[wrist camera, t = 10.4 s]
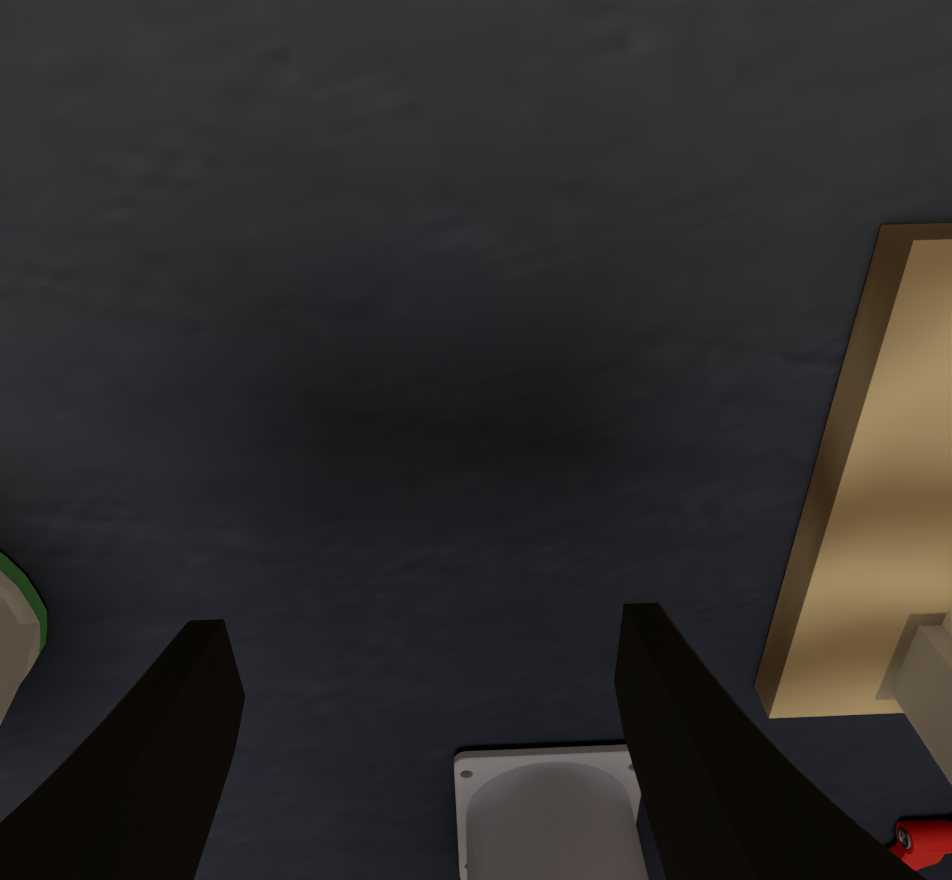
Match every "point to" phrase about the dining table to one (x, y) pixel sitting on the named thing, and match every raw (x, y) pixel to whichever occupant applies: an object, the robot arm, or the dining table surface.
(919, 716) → the door
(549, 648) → the dining table surface
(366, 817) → the dining table surface
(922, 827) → the tow hook
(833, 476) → the base board
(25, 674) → the cup
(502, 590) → the dining table surface
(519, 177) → the dining table surface
